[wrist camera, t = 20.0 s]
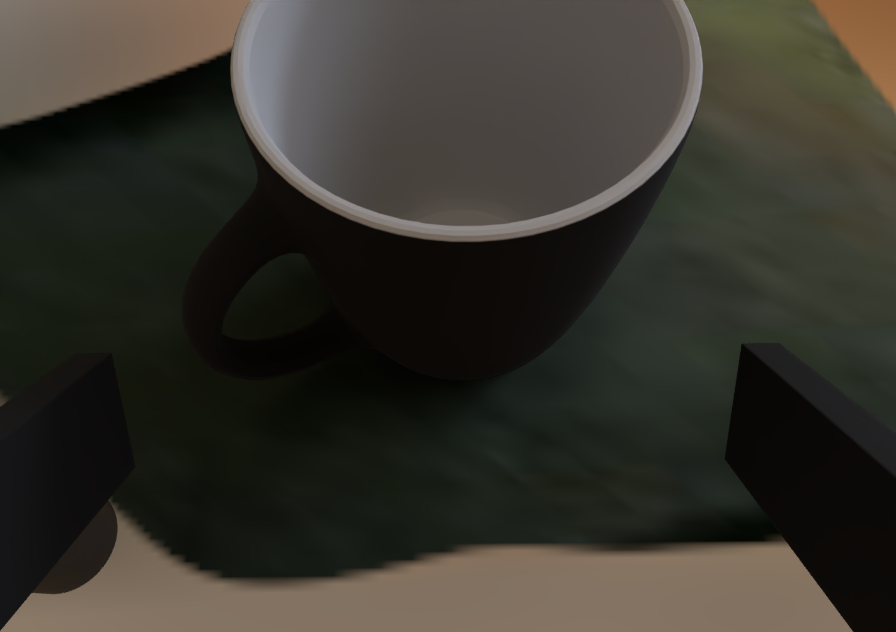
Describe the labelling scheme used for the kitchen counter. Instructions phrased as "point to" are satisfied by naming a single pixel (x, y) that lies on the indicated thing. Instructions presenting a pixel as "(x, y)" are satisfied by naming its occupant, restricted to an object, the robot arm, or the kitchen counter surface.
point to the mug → (444, 172)
